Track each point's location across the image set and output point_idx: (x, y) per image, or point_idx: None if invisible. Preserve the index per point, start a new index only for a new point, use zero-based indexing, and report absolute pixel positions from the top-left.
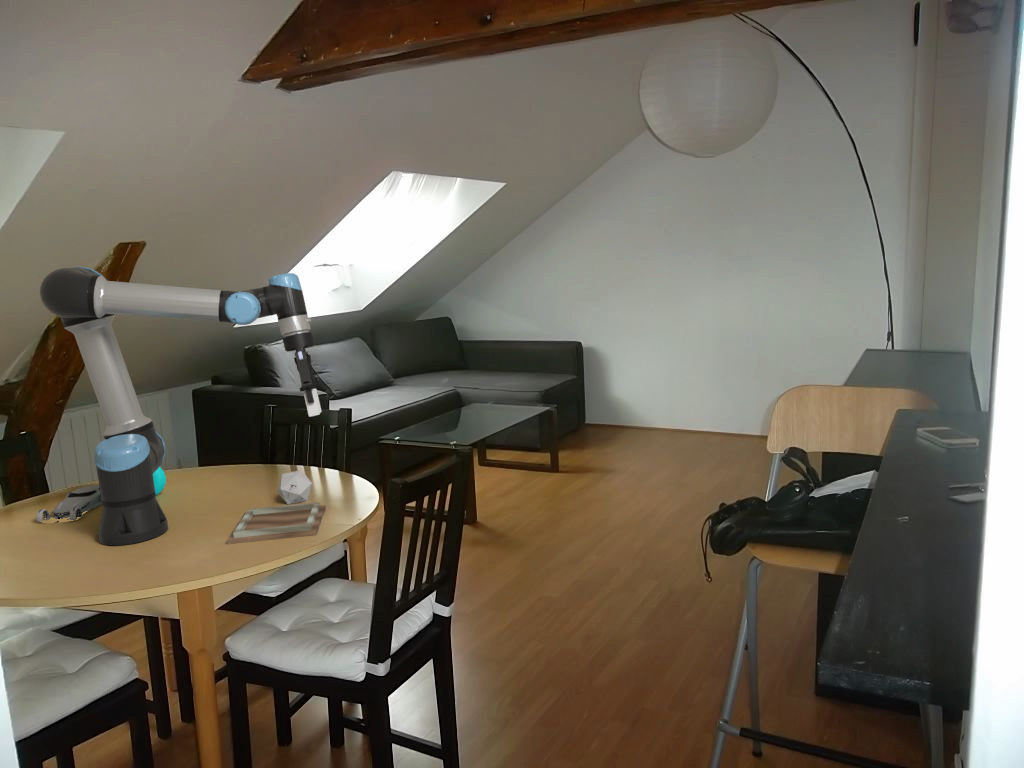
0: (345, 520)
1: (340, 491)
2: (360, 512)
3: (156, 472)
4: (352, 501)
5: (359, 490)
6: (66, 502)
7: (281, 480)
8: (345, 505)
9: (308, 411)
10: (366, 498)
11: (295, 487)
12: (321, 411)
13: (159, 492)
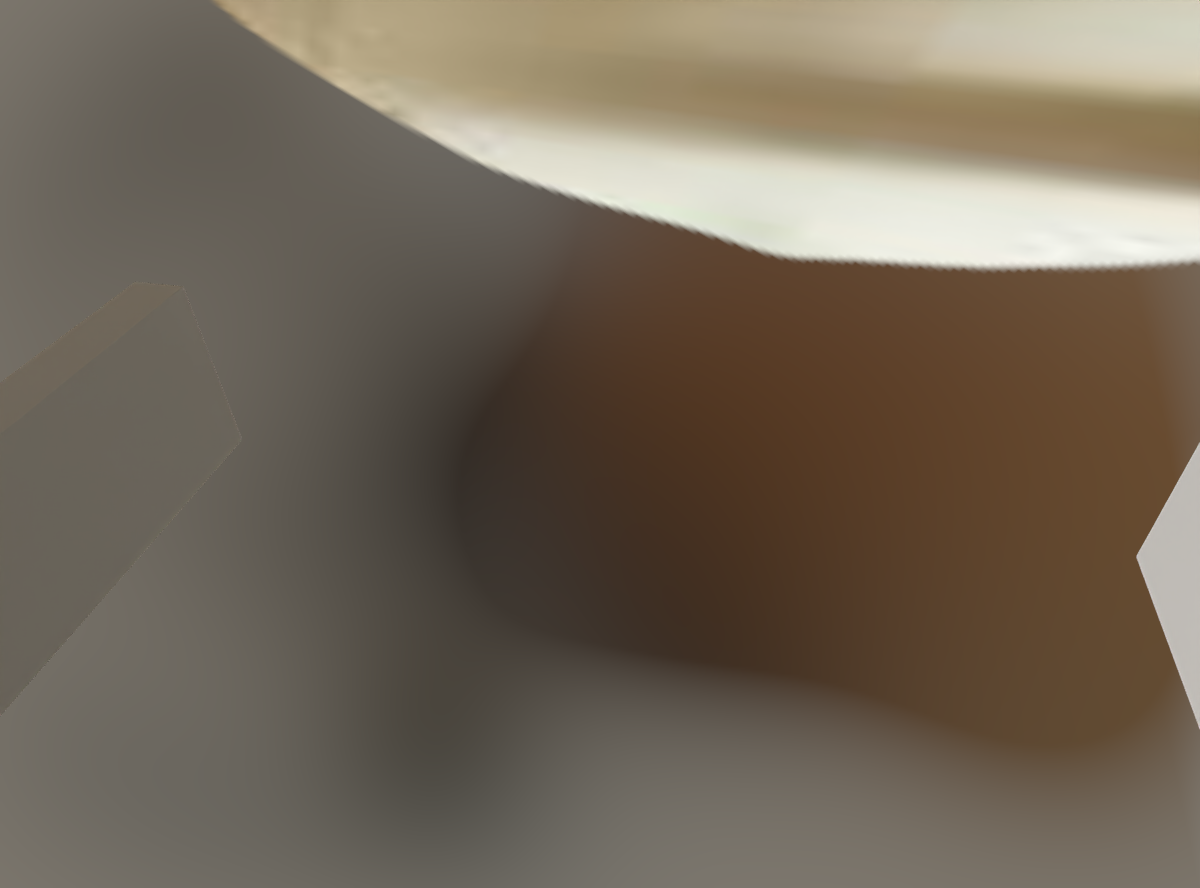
0: (385, 37)
1: (1056, 68)
2: (500, 135)
3: None
4: (729, 122)
5: (972, 204)
6: None
7: None
8: (662, 67)
9: (74, 343)
10: (751, 210)
11: None
12: (1145, 567)
13: None
